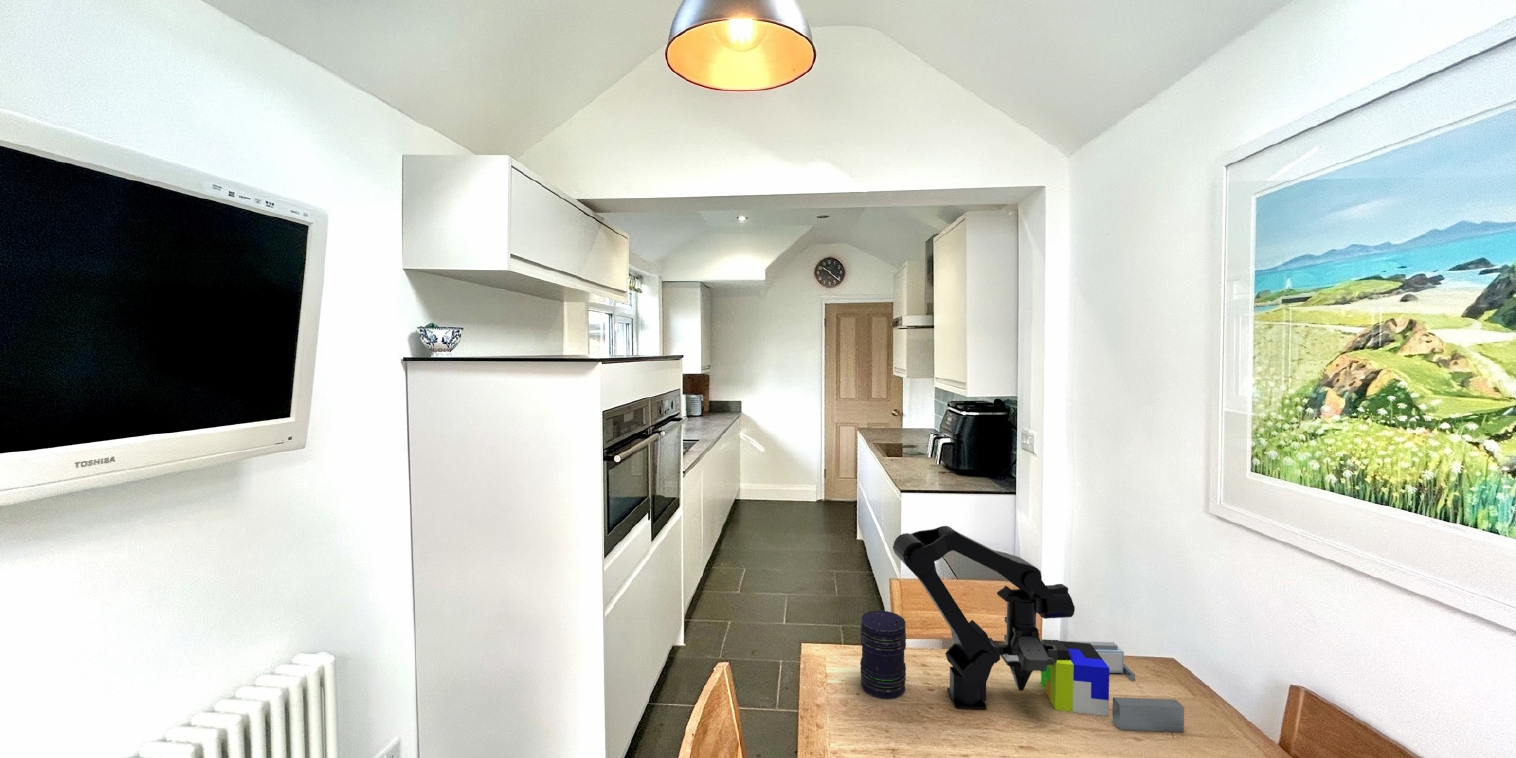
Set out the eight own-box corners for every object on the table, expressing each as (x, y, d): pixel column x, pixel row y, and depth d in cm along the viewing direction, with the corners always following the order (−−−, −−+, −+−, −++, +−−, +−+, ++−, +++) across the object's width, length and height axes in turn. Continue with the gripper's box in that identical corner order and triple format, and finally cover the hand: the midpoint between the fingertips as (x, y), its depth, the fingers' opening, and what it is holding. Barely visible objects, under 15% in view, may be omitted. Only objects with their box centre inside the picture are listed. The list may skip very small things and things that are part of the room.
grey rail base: (1113, 729, 109) (1114, 704, 109) (1054, 660, 134) (1054, 640, 134) (1189, 732, 108) (1190, 707, 108) (1115, 662, 133) (1116, 642, 133)
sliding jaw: (1069, 671, 129) (1070, 646, 129) (1064, 665, 132) (1064, 640, 132) (1123, 673, 128) (1124, 647, 128) (1117, 667, 131) (1117, 641, 131)
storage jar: (856, 693, 121) (856, 626, 121) (864, 670, 131) (864, 607, 130) (903, 703, 118) (903, 634, 117) (908, 678, 127) (908, 614, 126)
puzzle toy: (1108, 716, 114) (1109, 668, 113) (1055, 710, 116) (1056, 662, 115) (1089, 687, 123) (1090, 643, 123) (1040, 682, 125) (1041, 639, 125)
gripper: (989, 636, 112) (988, 711, 113) (1085, 638, 111) (1084, 715, 112) (972, 610, 123) (971, 680, 124) (1059, 613, 122) (1058, 682, 123)
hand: (1020, 689), depth 120 cm, fingers closed
